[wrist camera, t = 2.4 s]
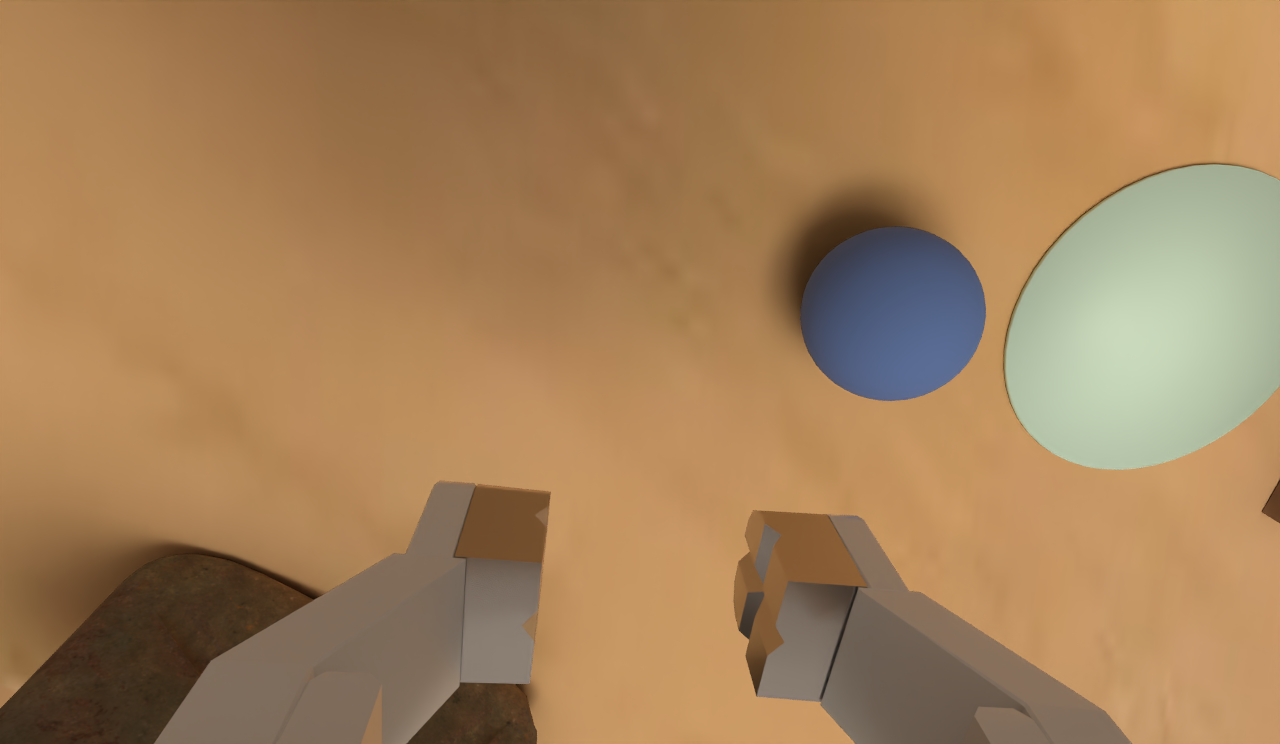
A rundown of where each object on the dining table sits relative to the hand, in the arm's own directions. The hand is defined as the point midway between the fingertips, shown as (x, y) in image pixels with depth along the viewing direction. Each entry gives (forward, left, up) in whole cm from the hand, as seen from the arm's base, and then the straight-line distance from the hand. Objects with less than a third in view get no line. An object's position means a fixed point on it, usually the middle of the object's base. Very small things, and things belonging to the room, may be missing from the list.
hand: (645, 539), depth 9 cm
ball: (0, +10, -14) cm, 17 cm away
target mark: (0, +23, -17) cm, 28 cm away
